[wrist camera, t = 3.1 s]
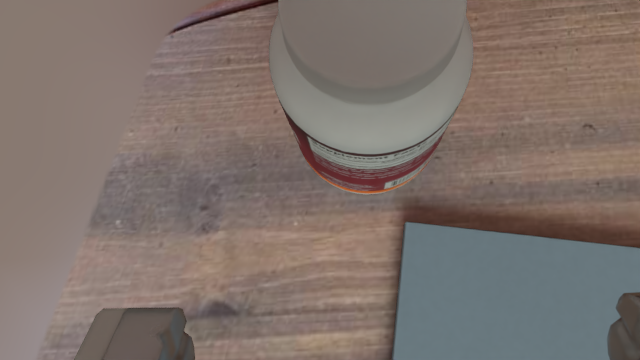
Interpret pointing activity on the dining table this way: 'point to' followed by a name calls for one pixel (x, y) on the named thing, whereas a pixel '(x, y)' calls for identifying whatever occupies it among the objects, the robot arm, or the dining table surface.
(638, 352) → the robot arm
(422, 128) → the pill bottle
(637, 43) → the dining table surface
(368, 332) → the dining table surface
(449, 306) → the blue mat
